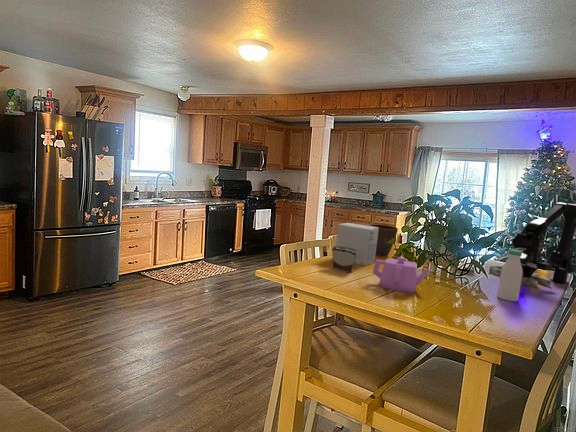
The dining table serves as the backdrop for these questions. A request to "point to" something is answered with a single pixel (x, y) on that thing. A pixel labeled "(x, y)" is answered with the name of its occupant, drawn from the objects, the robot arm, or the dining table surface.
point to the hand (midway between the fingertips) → (526, 279)
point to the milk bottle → (510, 277)
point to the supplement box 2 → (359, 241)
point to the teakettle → (399, 274)
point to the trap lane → (531, 281)
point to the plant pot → (384, 239)
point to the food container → (344, 258)
